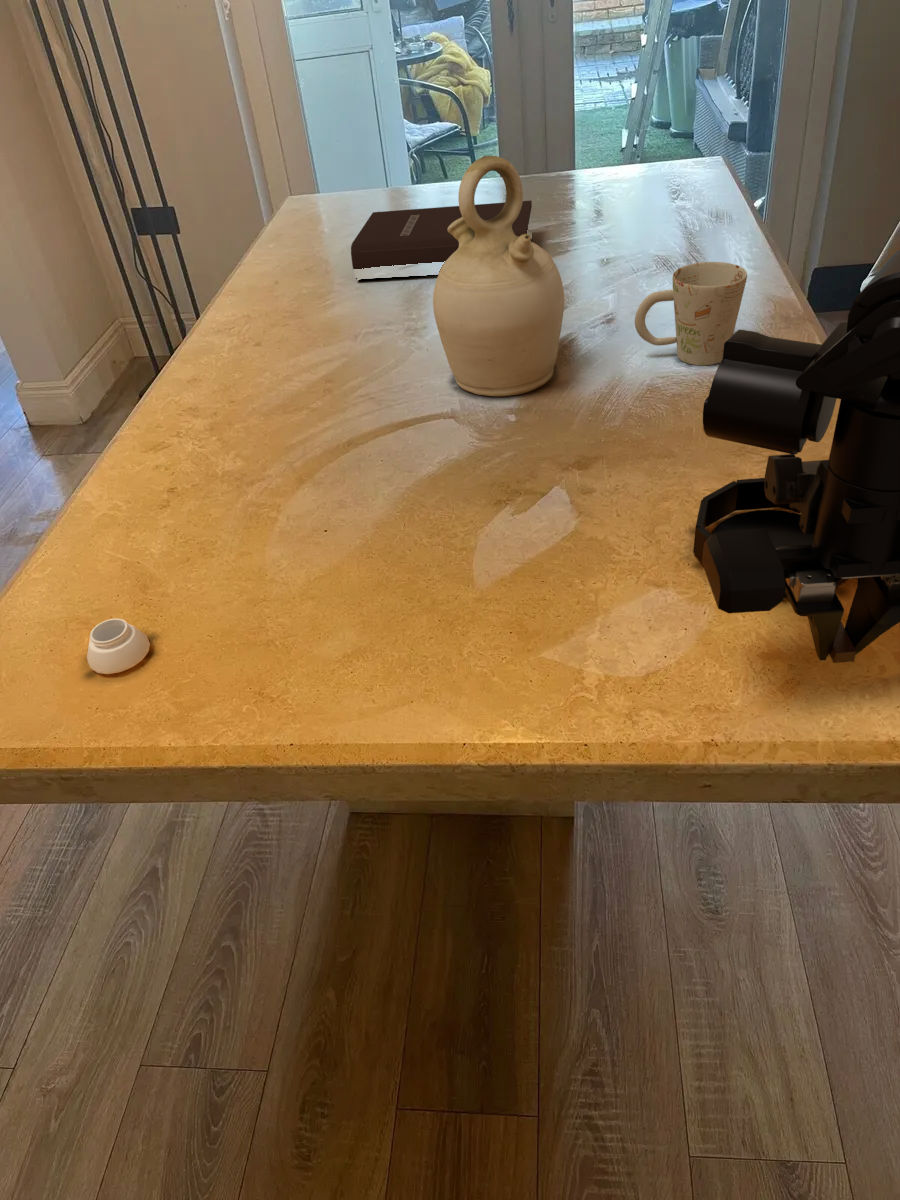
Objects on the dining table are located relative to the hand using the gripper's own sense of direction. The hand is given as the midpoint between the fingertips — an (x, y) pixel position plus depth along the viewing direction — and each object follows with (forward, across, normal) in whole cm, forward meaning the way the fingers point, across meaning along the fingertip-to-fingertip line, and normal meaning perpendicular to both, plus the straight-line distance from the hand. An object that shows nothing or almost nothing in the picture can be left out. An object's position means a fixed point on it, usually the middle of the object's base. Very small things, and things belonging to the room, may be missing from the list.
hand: (833, 655), depth 61 cm
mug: (+2, 0, -56) cm, 56 cm away
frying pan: (+1, 0, -10) cm, 10 cm away
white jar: (+2, +56, -6) cm, 56 cm away
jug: (+2, +22, -55) cm, 59 cm away
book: (+1, +30, -103) cm, 107 cm away
